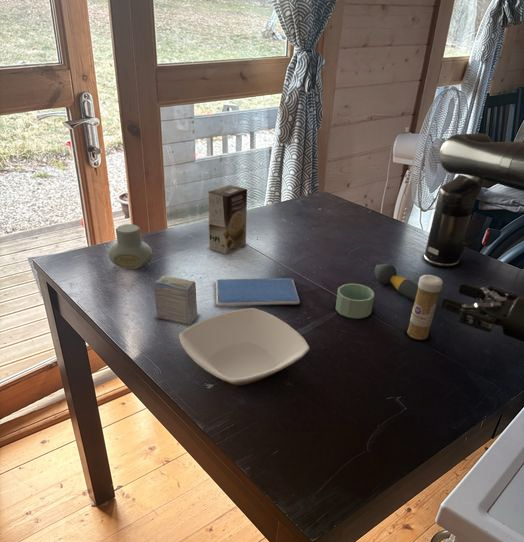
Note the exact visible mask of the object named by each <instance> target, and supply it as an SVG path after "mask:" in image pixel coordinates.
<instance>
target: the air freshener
mask: <svg viewBox="0 0 524 542" xmlns="http://www.w3.org/2000/svg"><path fill="white" fill-rule="evenodd" d="M115 234H116V235H115V236H116V242H115V243H114V244H113V245H112V246H111V247H110V249H109V251H108V258H109V261H111V263H112V264H113V265H114V266H116V267H118V268H121V269H124V270H127V271H134V270H137V269H140V268H142V267H145V266H146V265H148V264H149V263H150V262H151V260H152V258H153V250H152V247H151V246H150V245H149V244H148V243H147V242H145V241H142V236H141V235H142V234H141V228H140V227H139V225H136V224H132V223H131V224H130V223H129V224H127V223H126V224H121V225H119V226H117V227H116V229H115Z"/></svg>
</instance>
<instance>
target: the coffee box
mask: <svg viewBox="0 0 524 542" xmlns="http://www.w3.org/2000/svg"><path fill="white" fill-rule="evenodd" d="M247 206H248V188H245V187H241V186H238V185H232V184H228V185H225V186H221V187H219V188H215V189H212V190H209V191H208V235H209V236H208V244H209V245H208V246H209V249H210V250H213V251H216V252H219V253H222V254H224V255H227V254H229V253H231V252H234V251H236V250H238V249H239V248H241V247H244V246H245V245H247V215H248V212H247V211H248V210H247V209H248V208H247Z"/></svg>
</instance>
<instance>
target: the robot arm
mask: <svg viewBox="0 0 524 542" xmlns="http://www.w3.org/2000/svg"><path fill="white" fill-rule="evenodd" d="M438 159H439V163H440V165H441V167H442V168H443V170H444V171H445V172H447V173H448V174H451V175H457V176H456V177H455V178H453V179H452V180H450V181H449V182H446V183H445V184H443V185H442V186H441V187H440V188H439V191H438V195H437V200H436V203H435V208H434V213H433V217H432V222H431V226H430V230H429V235H428V239H427V243H426V247H425V251H424V255H423V260H424V261H425V263H427V264H429V265H431V266H434V267H439V268H445V269H446V268H454V267H457V266H458V265H459V262H460V257H461V254H463V253H464V251H465V247H466V242H465V239H466V236H467V233H468V229H469V225H470V220H471V218H472V213H473V210H474V207H475V203H476V199H477V198H478V196H479V194H480V193H481V191H482V188H483V185H484V182H485V181H488V182H491V183H494V184H497V185H501V186H504V187H507V188H510V189H514V190H518V191H522V192H524V142H523V141H492V138H491V137H490V136H489V135H488V134H485V133H457V134H453V135H451V136H449V137H447V138H446V139H445V141H444V142H443V143H442V145H441V146H440V149H439V151H438ZM458 293H459V294H460V295H463V296H465V297H469V298H471V299H475V300H478V302H475V303H474V304H469V303H468V304H467V303H463V302H461V301H458V300H455V299H453V298H450V297H444V298H443V299H442V302H441V304H440V305H441V307H440V308H441V309H442V310H445V311H448V312H450V313H453V314H456V315H458V322H459V323H460V324H463V325H466V326H468V327H471V328H475V329H478V330H481V331H483V332H486V333H491V332H492V331H493V328H494V326H499V327H501V328H502V334H503V335H504V336H506V337H510V338H513V339H514V340H518V341H520V342H523V343H524V297H523V296H519V295H518V294H516V293H514V292H512V291H508V290H507V289H506V290H505V289H502V288H499V287H497V286H495V285H491V284H488V285H487V286H486V287H485V286H481V287H479V286H475V285H473V284H469V283H466V282H462V283H461V284H460V286H459V289H458ZM518 296H519V297H518Z"/></svg>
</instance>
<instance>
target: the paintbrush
mask: <svg viewBox="0 0 524 542" xmlns="http://www.w3.org/2000/svg"><path fill="white" fill-rule="evenodd" d="M397 272H398V271H397V269H396V267H395V266H393V265H392V264H390V263H381V264H375V268H374V274H375V278H376V280H377V281H378V282H379V283H380V284H383V285H389V284H392V285H393V287H394V288H395V289H396V290H397V291H398V292H399V294H401V295H402V296H404V297H406V298H408V299H410V300H411V301H413V302H415V299H416V295H417V291H418V284H416V283H415V282H414V281H412V280H410V279H408V278H406V277H403V276H399V275H398V273H397Z"/></svg>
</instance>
